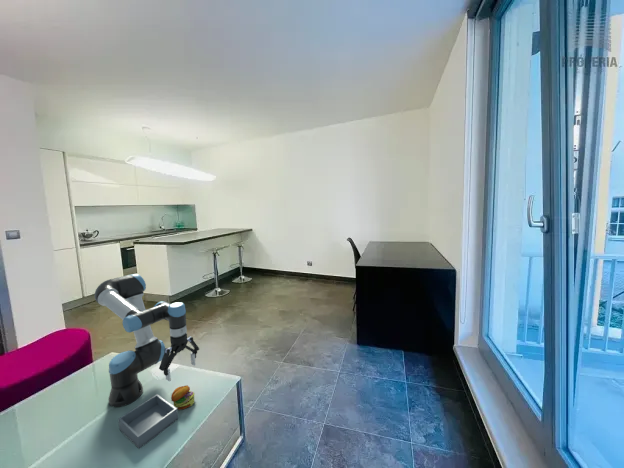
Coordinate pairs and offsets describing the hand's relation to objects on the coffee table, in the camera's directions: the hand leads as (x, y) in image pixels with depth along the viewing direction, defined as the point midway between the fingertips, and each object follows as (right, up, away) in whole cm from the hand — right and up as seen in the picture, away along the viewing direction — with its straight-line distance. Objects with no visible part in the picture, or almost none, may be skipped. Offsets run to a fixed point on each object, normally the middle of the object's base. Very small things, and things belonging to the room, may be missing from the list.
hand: (181, 371), depth 134 cm
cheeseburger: (0, -19, +3) cm, 19 cm away
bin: (-11, -20, -9) cm, 25 cm away
